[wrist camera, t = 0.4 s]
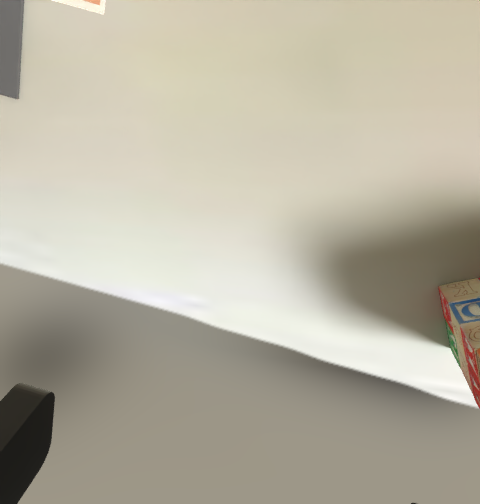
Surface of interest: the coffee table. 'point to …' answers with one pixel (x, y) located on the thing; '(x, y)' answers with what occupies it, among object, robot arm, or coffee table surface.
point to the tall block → (86, 4)
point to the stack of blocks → (464, 327)
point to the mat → (10, 46)
